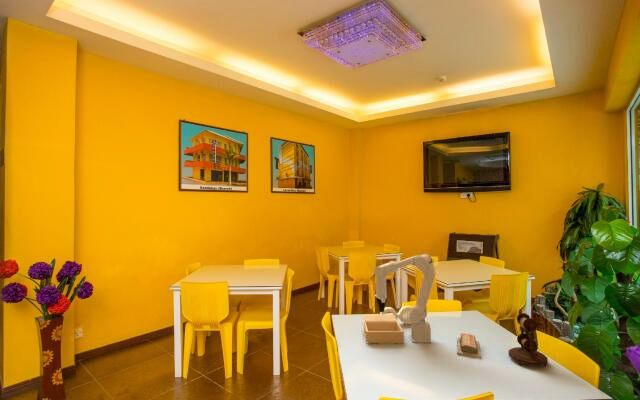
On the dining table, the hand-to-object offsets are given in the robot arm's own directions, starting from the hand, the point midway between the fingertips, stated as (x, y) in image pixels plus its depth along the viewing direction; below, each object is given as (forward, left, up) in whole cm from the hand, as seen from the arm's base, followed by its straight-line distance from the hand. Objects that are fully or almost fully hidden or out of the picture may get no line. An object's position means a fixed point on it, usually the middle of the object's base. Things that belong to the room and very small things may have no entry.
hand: (381, 311), depth 183 cm
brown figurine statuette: (-59, +35, -11) cm, 69 cm away
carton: (+1, +10, -10) cm, 14 cm away
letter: (-11, -10, -11) cm, 18 cm away
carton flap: (+1, -1, -3) cm, 4 cm away
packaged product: (-38, +23, -11) cm, 46 cm away
